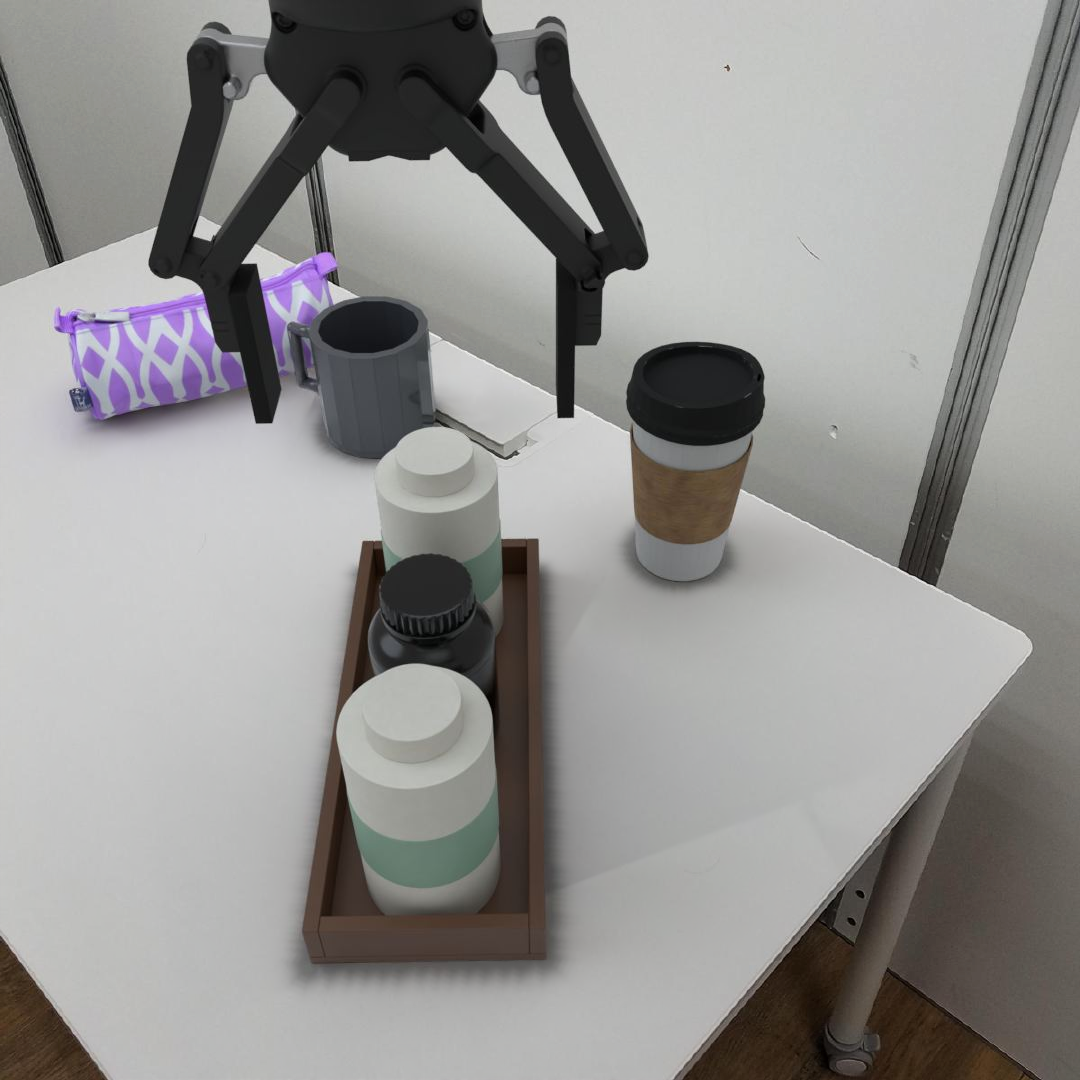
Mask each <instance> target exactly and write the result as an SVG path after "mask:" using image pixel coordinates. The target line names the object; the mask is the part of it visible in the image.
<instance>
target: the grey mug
mask: <svg viewBox="0 0 1080 1080" xmlns="http://www.w3.org/2000/svg"><path fill="white" fill-rule="evenodd" d="M429 327H430V326H429V320H428V318H427V316H426V315H425V313H424V311H423V310H422V308H420V307H418V306H417V305H415V304H413V303H411V302H410V301H408V300H405V299H401V298H396V297H391V296H385V295H382V296H381V295H380V296H376V295H375V296H372V295H371V296H369V295H368V296H367V295H365V296H364V295H363V296H357V297H353V298H349V299H343V300H341V301H339V302H337V303H335V304H334V303H333V305H332V306H330V307H328V308H326V309H324V310H323V311H322V312H321V313H319V314H318V315H317V316H316V317H315V318H314V319H313V320H312V323H311V325H307V324H303V323H298V322H294V321H293V322H290V323H288V325H287V333H288V338H289V344H290V349H291V354H292V360H293V365H294V371H295V373H294V377H295V381H296V385H297V387H298V388H299V389H302V390H306V391H310V392H314V393H318V397H319V402H320V408H321V414H322V421H323V425H324V428H325V432H326V436H327V438H328V440H329V442H330V443H331V444H332V445H333V446H334V447H335V448H336V449H338V450H339V451H341V452H343V453H345V454H347V455H350V456H353V457H358V458H364V459H382V458H383V457H384V456H385V455H386V454H387V453H388V452H389V451H391V450H392V449H394V448H395V447H396V446H397V444H398V443H399V441H400V440H401V439H402V438H403V437H405V436H406V435H408V434H409V433H411V432H413V431H416V430H419V429H423V428H428V427H436V423H437V421H436V420H437V419H436V415H437V410H436V399H435V398H436V397H435V388H434V387H435V386H434V375H433V362H432V351H431V339H430V329H429ZM302 337H304V338H308V339H310V344H311V350H312V356H313V362H314V367H313V368H314V373H315V378H313V377H310V376H309V371H308V370H309V369H307V364H306V359H305V353H304V347H303V341H302Z"/></svg>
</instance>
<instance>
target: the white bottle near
mask: <svg viewBox="0 0 1080 1080" xmlns="http://www.w3.org/2000/svg"><path fill="white" fill-rule="evenodd" d="M336 734H337V743H338V748H339V753H340V757H341V762H342V767H343V772H344V777H345V781H346V787H347V796H348V801H349V806H350V811H351V815H352V820H353V825H354V830H355V834H356V839H357V843H358V847H359V850H360V853H361V858H362V863H363V867H364V872H365V877H366V882H367V886H368V890H369V893H370V895H371V898H372V900H373V901H374V903H375V905H376V906H377V907H378V908H379V909H380V911H381V912H382V913H384V914H385V915H448V914H476V913H477V912H479V911H480V910H481V909H482V908H483V907H484V906H485V905H486V903H487V902H488V901H489V899H490V898H491V896H492V895H493V893H494V891H495V889H496V887H497V884H498V881H499V877H500V870H501V863H500V844H499V808H498V790H497V772H496V765H495V755H494V737H493V719H492V712H491V708H490V705H489V703H488V700H487V699H486V697H485V695H484V694H483V692H482V691H481V690H480V689H479V688H478V687H477V686H476V685H475V684H474V683H473V682H472V681H471V680H469V679H468V678H466V677H465V676H463V675H461V674H459V673H457V672H454V671H452V670H449V669H446V668H442V667H437V666H431V665H426V664H406V665H401V666H397V667H394V668H391V669H389V670H387V671H385V672H384V673H382V674H380V675H377V676H375V677H374V678H372V679H370V680H369V681H367V682H366V683H364V684H363V685H362V686H360V687H359V688H358V689H357V690H356V691H355V692H354V693H353V694H352V695H351V697H350V698H349V699H348V700H347V702H346V703H345V705H344V707H343V709H342V711H341V713H340V715H339V719H338V723H337V730H336Z"/></svg>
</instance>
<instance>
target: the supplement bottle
mask: <svg viewBox="0 0 1080 1080" xmlns="http://www.w3.org/2000/svg"><path fill="white" fill-rule="evenodd" d="M379 596H380V602H381V604H380V609H379V610H378V611H377V613H376V614H375V616H374V618H373V620H372V622H371V625H370V628H369V632H368V648H369V655H370V661H371V667H372V672H373V678H374V677H375V676H377V675H380V674H382V673H384V672H385V671H387V670H389V669H391V668H394V667H397V666H401V665H406V664H426V665H431V666H437V667H442V668H446V669H449V670H452V671H454V672H457V673H459V674H461V675H463V676H465V677H466V678H468V679H469V680H471V681H472V682H473V683H474V684H475V685H476V686H477V687H478V688H479V689H480V690H481V691H482V692H483V694H484V695H485V697H486V699H487V700H488V703H489V705H490V708H491V712H492V719H493V737H494V741H495V739H496V736H497V734H498V730H499V725H500V706H499V688H498V670H497V652H496V635H495V627H494V622H493V619H492V617H491V615H490V613H489V611H488V610H487V608H486V607H485V606H484V604H483V603H482V602H481V601H480V600H479V599H478V598H476V596H475V593H474V589H473V581H472V579H471V575H470V573H469V572H468V571H467V568H465V567H464V566H463V565H462V563H460V562H457V560H456V559H453V558H450V557H449V556H443V555H441V554H432V553H430V554H420V555H413V556H411V557H408V558H405V559H403V560H402V561H399V562H397V563H396V564H395V565H393V566H391V568H390V570H388V571H387V572H386V574H385V576H384V577H383V578H382V582H381V583H380V591H379Z"/></svg>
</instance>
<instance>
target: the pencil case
mask: <svg viewBox="0 0 1080 1080" xmlns="http://www.w3.org/2000/svg"><path fill="white" fill-rule="evenodd" d="M338 268H339V265H338V262H337V260H336V259H335V257H334V255H333V254H332V252H328V251H327V252H326V251H325V252H320V253H318V254H316V255H314V256H310V257H308V258H307V259H305V260H304V261H303V260H302V261H301V262H299V263H297V264H293V265H291V266H289V267H287V268H285V269H283V270H281V271H279V272H278V273H276V274H274V275H272V276H268V277H262V278H260V282H261V287H262V292H263V297H264V302H265V307H266V313H267V318H268V323H269V328H270V333H271V338H272V343H273V348H274V353H275V358H276V363H277V368H278V373H279V378H281V377H283V376H289V375H292V374H295V371H294V365H293V360H292V354H291V349H290V344H289V338H288V333H287V325H288V323H290V322H293V321H294V322H298V323H303V324H307V325H311V323H312V320H313V319H314V318H315V317H316V316H317V315H318V314H319V313H321V312H322V311H323V310H324V309H326V308H328V307H330V306H332V305H334V302H333V298H332V295H331V291H330V286H329V282H328V276H327V274H329V273H331V272H334V271H335V270H337V269H338ZM53 320H54V321H53V325H54V326H53V328H54V329H55V331H56V332H58V333H60V334H67V340H68V347H69V352H70V360H71V361H70V362H71V366H72V371H73V374H74V377H75V381H76V383H77V386H78V387H74V388H72V389H69V391H68V393H69V396H70V401H71V403H72V408H73V410H74V411H75V413H82V412H83V413H84V412H87V411H90V413H91V416H92V417H93V418H94V419H95V420H101V421H104V420H106V419H109V418H112V417H114V416H119V415H120V416H121V415H122V414H126V413H130V412H135V411H139V410H143V409H147V408H151V407H158V406H166V405H167V406H168V405H173V404H178V403H185V402H190V401H195V400H199V399H202V398H206V397H210V396H214V395H219V394H221V393H227V392H230V391H234V390H238V389H240V388H244V387H248V386H247V382H246V377H245V373H244V368H243V364H242V359H241V355H240V352H227V353H222V352H221V350H220V349H219V347H218V346H217V344H216V343H215V339H214V335H213V330H212V327H211V322H210V318H209V314H208V310H207V306H206V301H205V297H204V294H203V291H199V292H195V293H191V294H187V295H183V296H180V297H178V298H175V299H173V300H168V301H160V302H159V301H157V302H151V303H146V304H143V305H138V306H136V305H135V306H127V307H120V308H114V309H109V310H105V311H98V312H93V311H89V310H84V309H81V308H71V309H70V310H69V311H67V312H66V313H65V315H61V307H59V306H58V307H56V308H55V310H54V317H53ZM302 341H303V347H304V353H305V359H306V364H307V370H310V369H313V368H314V362H313V356H312V350H311V344H310V339H308V338H304V337H302Z"/></svg>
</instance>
